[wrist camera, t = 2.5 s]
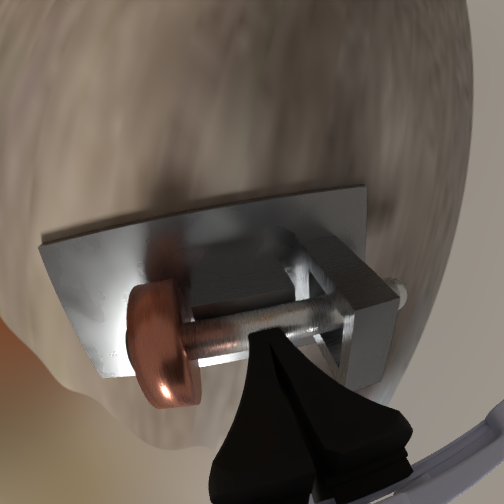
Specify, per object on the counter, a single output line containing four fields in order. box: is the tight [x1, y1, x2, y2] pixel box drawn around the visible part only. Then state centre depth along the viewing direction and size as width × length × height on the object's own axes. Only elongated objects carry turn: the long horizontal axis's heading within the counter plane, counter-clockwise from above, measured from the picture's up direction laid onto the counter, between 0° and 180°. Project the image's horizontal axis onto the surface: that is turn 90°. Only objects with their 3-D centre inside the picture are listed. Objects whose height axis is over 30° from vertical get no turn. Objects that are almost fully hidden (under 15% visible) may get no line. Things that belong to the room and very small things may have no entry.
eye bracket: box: [38, 184, 400, 391], centre depth 14 cm, size 10×18×7 cm, turn 97°
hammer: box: [125, 278, 407, 409], centre depth 14 cm, size 6×14×6 cm, turn 97°
